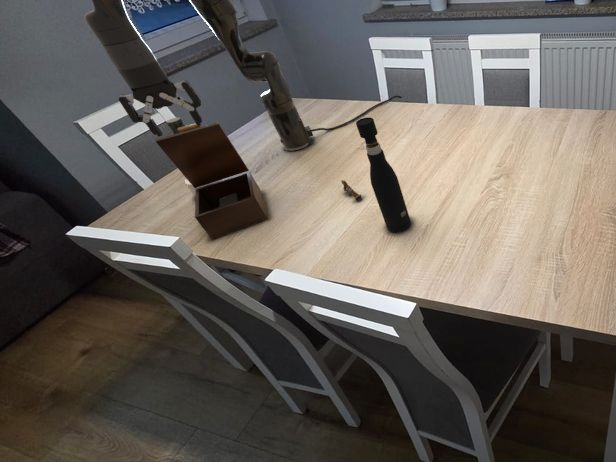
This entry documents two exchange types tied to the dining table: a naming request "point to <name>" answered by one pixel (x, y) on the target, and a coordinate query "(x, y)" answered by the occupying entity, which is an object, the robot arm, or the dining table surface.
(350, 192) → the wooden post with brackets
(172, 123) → the sauce bottle
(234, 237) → the dining table surface
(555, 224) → the dining table surface
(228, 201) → the duster
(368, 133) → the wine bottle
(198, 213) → the case
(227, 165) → the case lid
